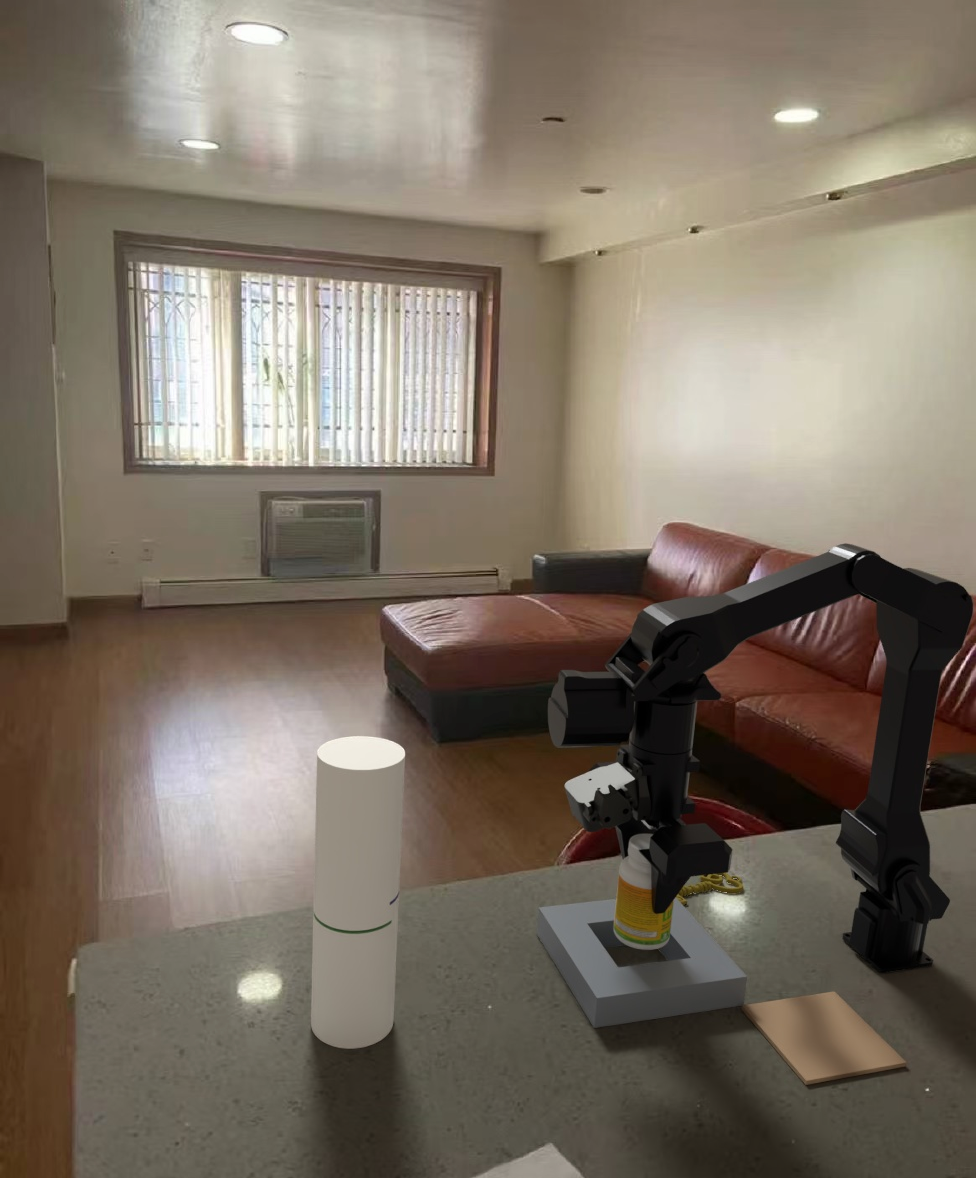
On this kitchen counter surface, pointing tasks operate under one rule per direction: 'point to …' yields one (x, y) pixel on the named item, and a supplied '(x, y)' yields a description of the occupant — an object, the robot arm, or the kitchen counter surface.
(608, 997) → the grey rectangular frame
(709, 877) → the key
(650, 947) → the supplement bottle
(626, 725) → the robot arm
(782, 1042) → the pad
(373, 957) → the cylindrical container
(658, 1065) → the kitchen counter surface
